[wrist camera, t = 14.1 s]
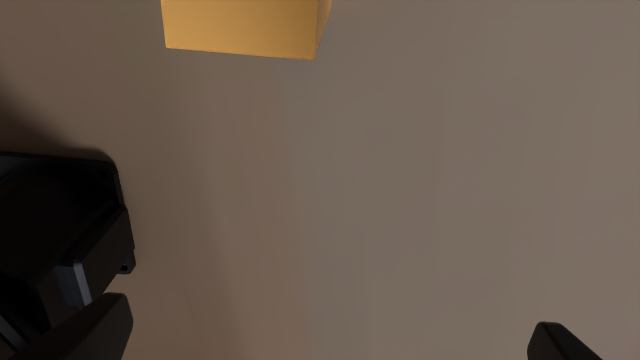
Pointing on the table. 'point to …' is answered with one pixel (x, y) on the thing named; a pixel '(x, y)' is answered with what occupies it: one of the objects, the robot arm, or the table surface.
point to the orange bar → (247, 26)
